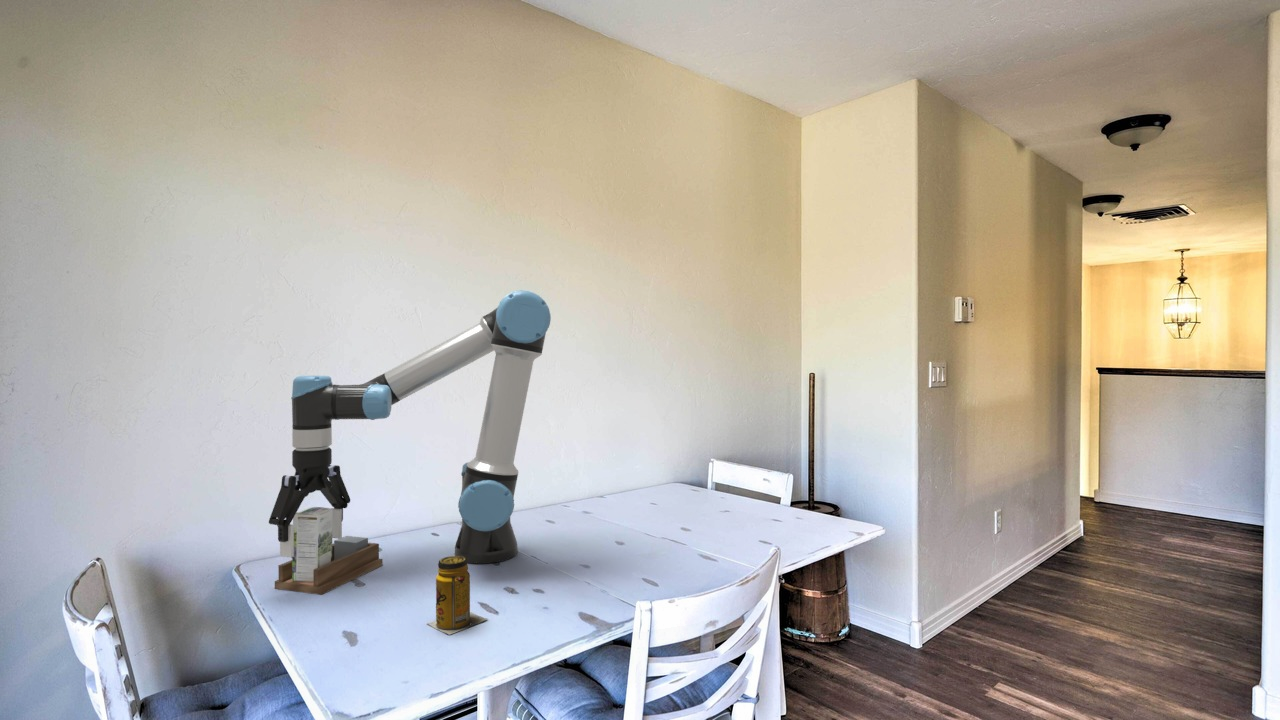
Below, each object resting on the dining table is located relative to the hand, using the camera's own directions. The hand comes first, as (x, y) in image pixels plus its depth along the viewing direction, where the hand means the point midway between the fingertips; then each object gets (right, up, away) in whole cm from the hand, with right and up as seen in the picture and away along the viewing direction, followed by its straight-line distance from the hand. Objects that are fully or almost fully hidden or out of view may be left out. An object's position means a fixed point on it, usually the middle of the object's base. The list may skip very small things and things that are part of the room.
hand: (312, 546), depth 139 cm
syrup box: (0, -7, 0) cm, 7 cm away
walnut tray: (+2, -8, +5) cm, 10 cm away
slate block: (+3, -6, +11) cm, 13 cm away
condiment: (+36, -9, -18) cm, 42 cm away
